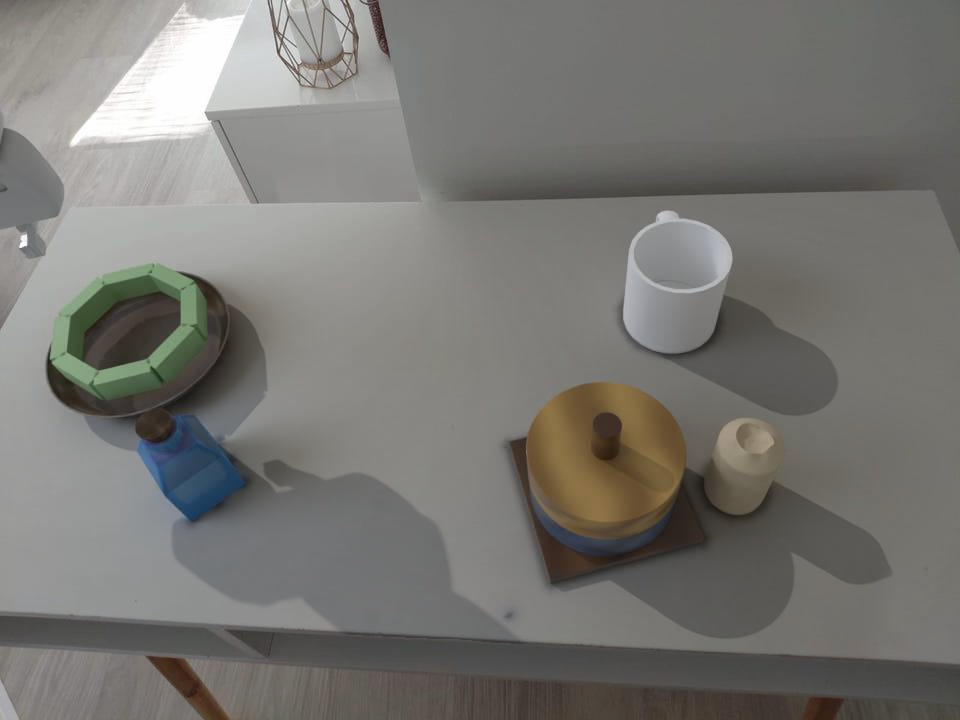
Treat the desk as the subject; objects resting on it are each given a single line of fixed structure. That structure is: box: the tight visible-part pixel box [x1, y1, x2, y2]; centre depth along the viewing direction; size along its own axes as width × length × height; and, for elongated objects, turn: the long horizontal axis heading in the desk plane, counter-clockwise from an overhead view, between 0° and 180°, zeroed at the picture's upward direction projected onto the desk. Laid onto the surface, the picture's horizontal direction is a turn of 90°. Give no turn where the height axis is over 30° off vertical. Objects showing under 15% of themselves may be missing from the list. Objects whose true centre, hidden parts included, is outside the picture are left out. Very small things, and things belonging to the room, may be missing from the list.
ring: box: [50, 262, 208, 400], centre depth 83 cm, size 16×16×3 cm
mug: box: [622, 210, 733, 355], centre depth 80 cm, size 13×10×10 cm
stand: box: [508, 381, 705, 584], centre depth 67 cm, size 14×14×13 cm
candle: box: [703, 417, 786, 516], centre depth 67 cm, size 6×6×10 cm
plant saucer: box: [44, 270, 231, 419], centre depth 86 cm, size 21×21×3 cm
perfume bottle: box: [134, 407, 247, 523], centre depth 72 cm, size 6×6×12 cm
